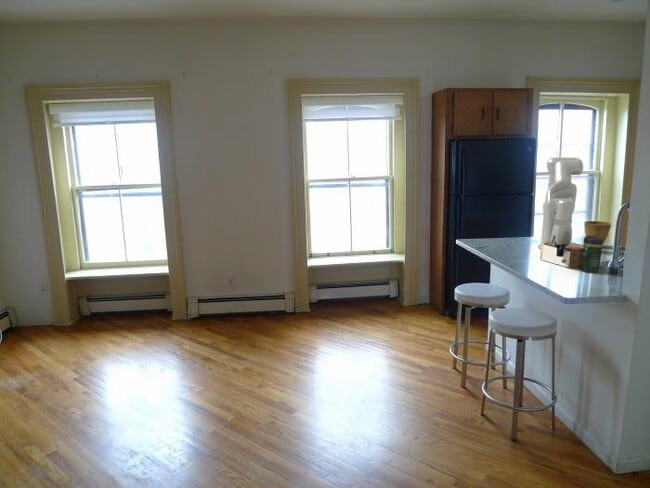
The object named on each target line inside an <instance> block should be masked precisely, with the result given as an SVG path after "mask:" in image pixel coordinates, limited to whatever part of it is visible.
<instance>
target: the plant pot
mask: <svg viewBox="0 0 650 488" xmlns="http://www.w3.org/2000/svg"><path fill="white" fill-rule="evenodd" d="M583 224H584V233H585V237H586V236H596V237H598V238H600V239H602V240H603V245H605V243H606V240H607V238H608V236H609V233H610V230H611V227H612V222H608V221H600V220H588V221H586V220H585V221H584V223H583Z"/></svg>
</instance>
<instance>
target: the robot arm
mask: <svg viewBox="0 0 650 488" xmlns="http://www.w3.org/2000/svg"><path fill="white" fill-rule="evenodd" d="M546 169H547V171H548V184H547V190H546V194H545V201H543V203H542V204H543V205H542V211H543V213H542V214H543V217H542V227H541V238H540V244H539V245H537V248H538V249H540V250H541V246H542V244H544V242H551V243H553V244H552V246H555V247H556V249H557V254H556V256H559V257H563V254H564V250H565V247H566V246H568V245H570V243H571V242H572V238H573V228H572V227H573V226H572V223H573V221H572V220H573V213H574V211H575V207H576V199H577V192H578V190H577V189H578V188H577V185H576V184H575V183H572V176H580V175H581V174H583V171H584V163H583V161H582V159H580V158H579V157H563V156H562V157H550V158H548V159H547V162H546Z"/></svg>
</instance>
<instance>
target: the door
mask: <svg viewBox="0 0 650 488" xmlns="http://www.w3.org/2000/svg"><path fill="white" fill-rule="evenodd" d="M556 254H557V249H556V248H555V247H552V246H548V245H544V244H542V246H541V249H540V257H539V259H540V260H542V261H545V262H548V263H550V264H555V265H557V264H558V266H561V267H563V268H567V267H569V263H570V255H571V251H567V250H564V254H563V257H559V256H556Z"/></svg>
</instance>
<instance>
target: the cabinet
mask: <svg viewBox="0 0 650 488" xmlns="http://www.w3.org/2000/svg"><path fill="white" fill-rule="evenodd" d="M552 244H553V243H551V242H544V245H548V246H552ZM552 247H555V246H552ZM555 248H556V247H555ZM565 250H567V251H571V255H570V263H569V267H568V269H570V268H571V269H570V270H572V269H573V268H574V269H581V268H580V266H581V260H582V253H583V244H581V243H580V244H579V243H576V242H572V241H571V243H570V245H568V246H566V247H565Z"/></svg>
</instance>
